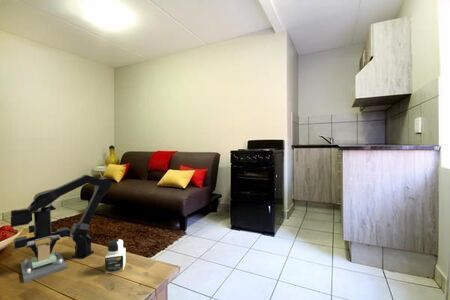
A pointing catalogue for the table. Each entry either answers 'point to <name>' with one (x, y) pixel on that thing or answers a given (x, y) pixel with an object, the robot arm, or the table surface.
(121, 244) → the medicine bottle
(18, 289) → the table surface
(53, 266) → the standoff plate
